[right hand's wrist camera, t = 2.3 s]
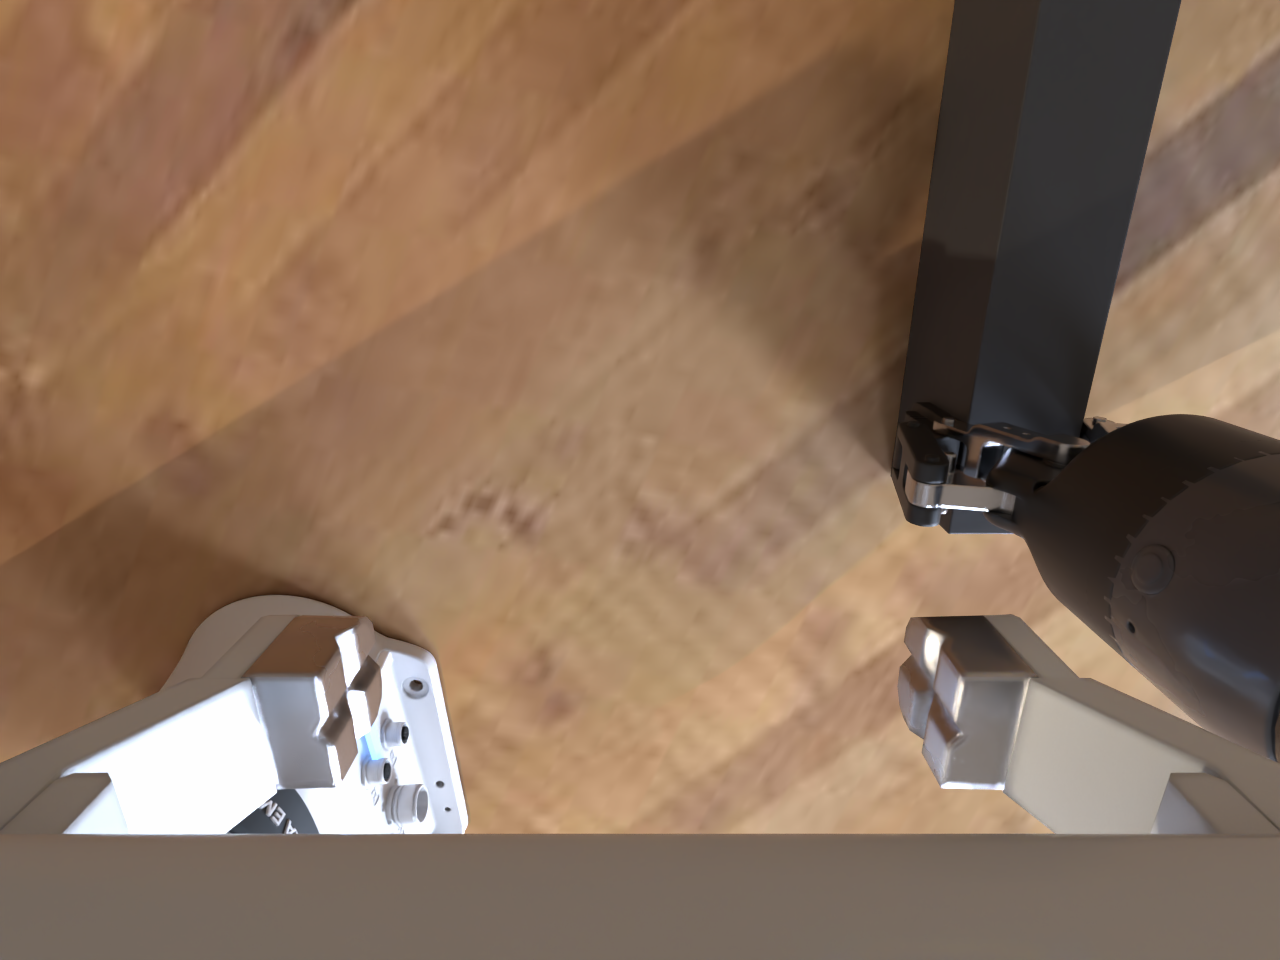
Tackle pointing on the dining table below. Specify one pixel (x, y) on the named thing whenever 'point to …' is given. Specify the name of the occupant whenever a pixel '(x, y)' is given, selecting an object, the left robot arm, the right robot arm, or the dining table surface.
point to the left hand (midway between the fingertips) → (973, 421)
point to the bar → (1030, 209)
